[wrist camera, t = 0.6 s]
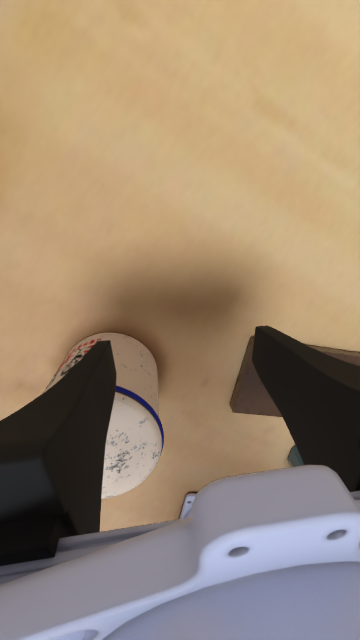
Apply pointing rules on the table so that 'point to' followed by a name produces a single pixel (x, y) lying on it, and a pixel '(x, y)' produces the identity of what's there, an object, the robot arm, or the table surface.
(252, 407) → the cup stand
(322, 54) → the table surface
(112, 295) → the table surface
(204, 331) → the table surface
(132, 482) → the speckled cream mug
